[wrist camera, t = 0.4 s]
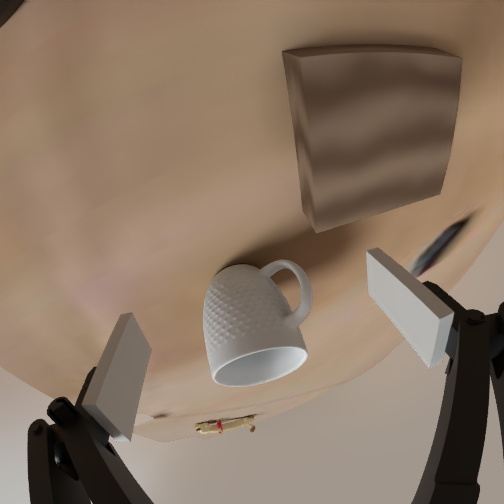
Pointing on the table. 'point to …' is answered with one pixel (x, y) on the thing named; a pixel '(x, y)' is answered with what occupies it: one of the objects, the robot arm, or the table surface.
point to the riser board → (370, 127)
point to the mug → (254, 325)
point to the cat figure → (225, 425)
